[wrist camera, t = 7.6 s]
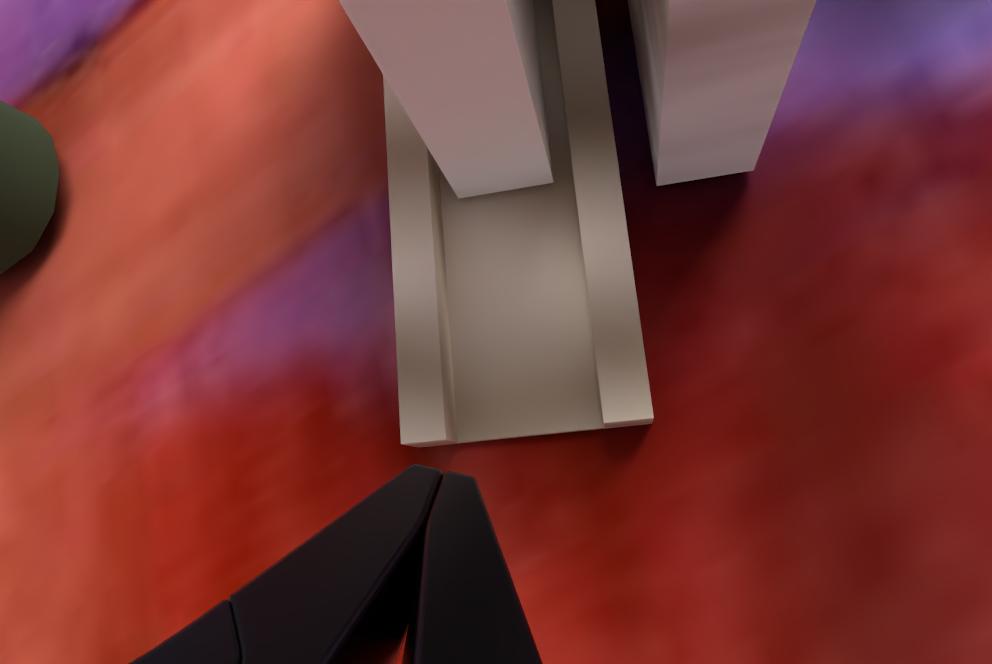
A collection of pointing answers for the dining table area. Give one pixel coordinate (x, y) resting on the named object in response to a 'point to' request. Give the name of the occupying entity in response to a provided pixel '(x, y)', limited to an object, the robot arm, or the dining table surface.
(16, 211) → the character mug
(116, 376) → the dining table surface
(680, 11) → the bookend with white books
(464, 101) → the door
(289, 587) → the robot arm
